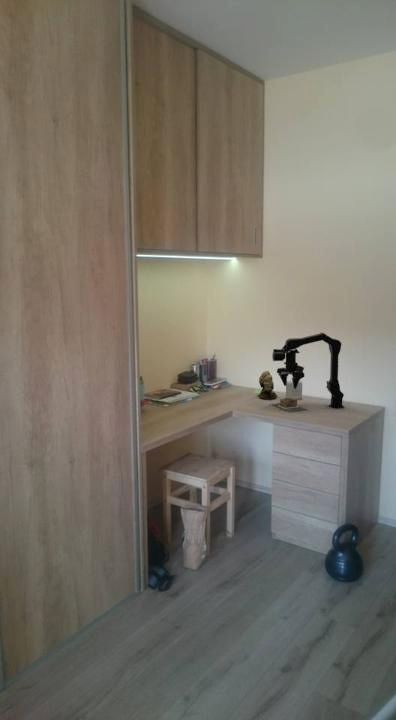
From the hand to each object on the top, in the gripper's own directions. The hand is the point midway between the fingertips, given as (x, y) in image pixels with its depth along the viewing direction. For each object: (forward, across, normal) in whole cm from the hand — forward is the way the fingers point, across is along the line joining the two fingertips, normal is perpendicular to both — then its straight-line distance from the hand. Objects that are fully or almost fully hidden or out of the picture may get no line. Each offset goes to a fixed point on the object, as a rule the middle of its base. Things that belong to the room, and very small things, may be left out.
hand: (290, 387), depth 304 cm
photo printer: (+12, +15, -15) cm, 25 cm away
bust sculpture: (+12, +27, -4) cm, 30 cm away
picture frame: (+12, 0, +1) cm, 12 cm away
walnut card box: (+11, 0, +1) cm, 11 cm away
